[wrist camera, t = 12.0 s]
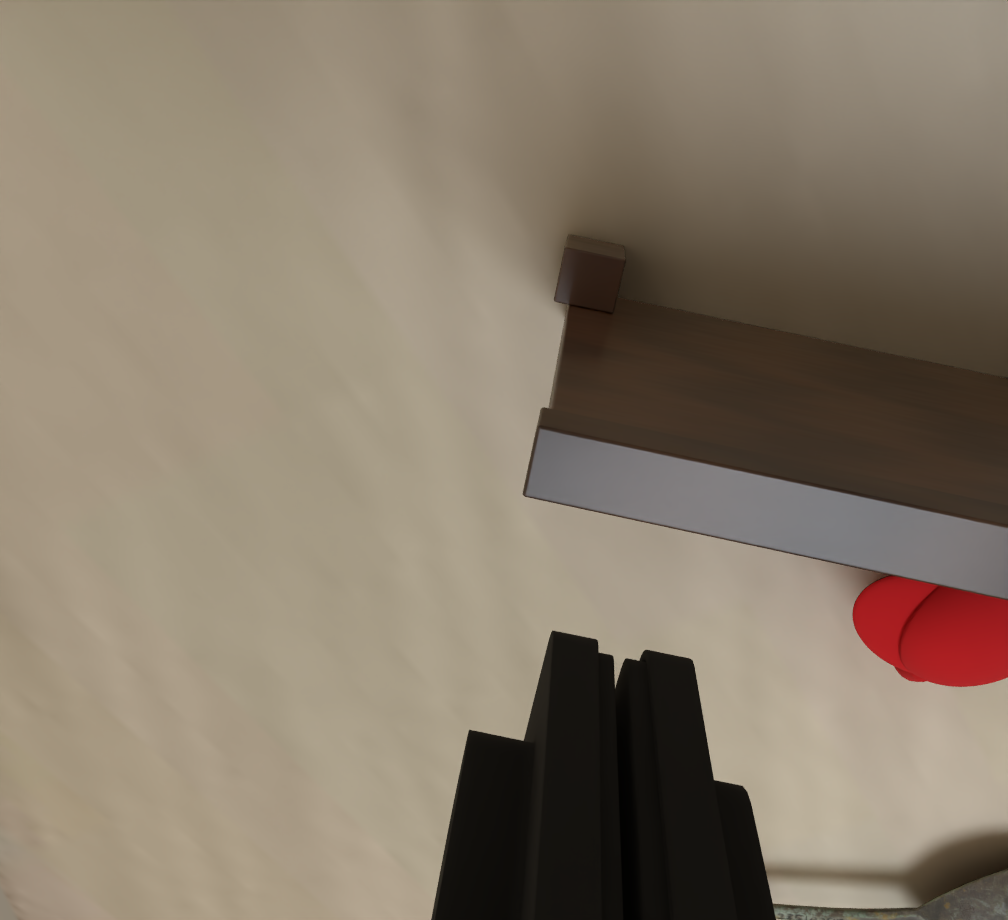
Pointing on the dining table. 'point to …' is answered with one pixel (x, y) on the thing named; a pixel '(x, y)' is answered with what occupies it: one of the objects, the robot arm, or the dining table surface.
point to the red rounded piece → (934, 631)
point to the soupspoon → (952, 916)
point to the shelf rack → (772, 437)
